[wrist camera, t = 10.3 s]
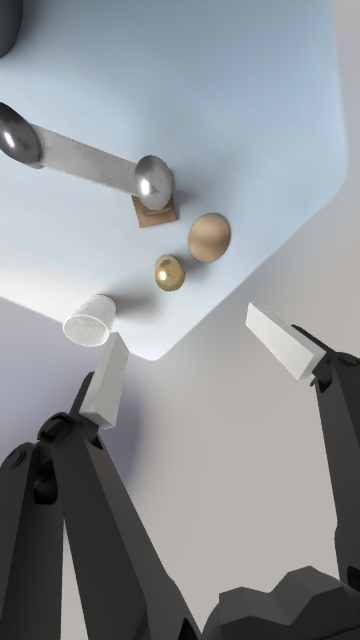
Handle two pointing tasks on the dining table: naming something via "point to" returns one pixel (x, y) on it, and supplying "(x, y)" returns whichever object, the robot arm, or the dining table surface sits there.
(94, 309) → the white cup
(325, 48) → the dining table surface
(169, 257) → the brass cylinder
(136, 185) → the lever
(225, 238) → the coaster
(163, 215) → the post
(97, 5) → the dining table surface
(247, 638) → the robot arm
